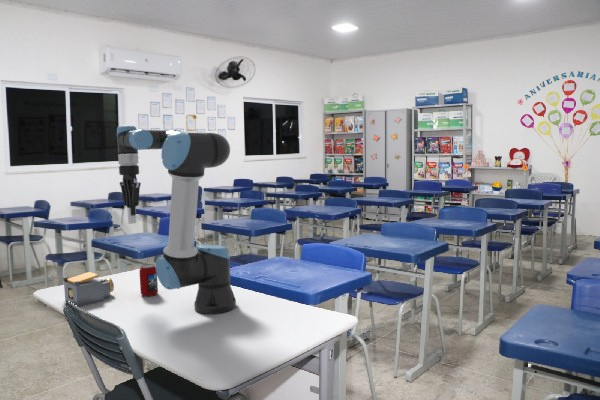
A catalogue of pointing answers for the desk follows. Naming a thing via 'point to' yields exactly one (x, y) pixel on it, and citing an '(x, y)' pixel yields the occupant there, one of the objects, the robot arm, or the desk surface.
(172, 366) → the desk surface
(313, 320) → the desk surface
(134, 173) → the robot arm
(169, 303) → the desk surface
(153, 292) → the beverage can
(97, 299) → the hitch block
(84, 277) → the plate
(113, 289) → the pin
